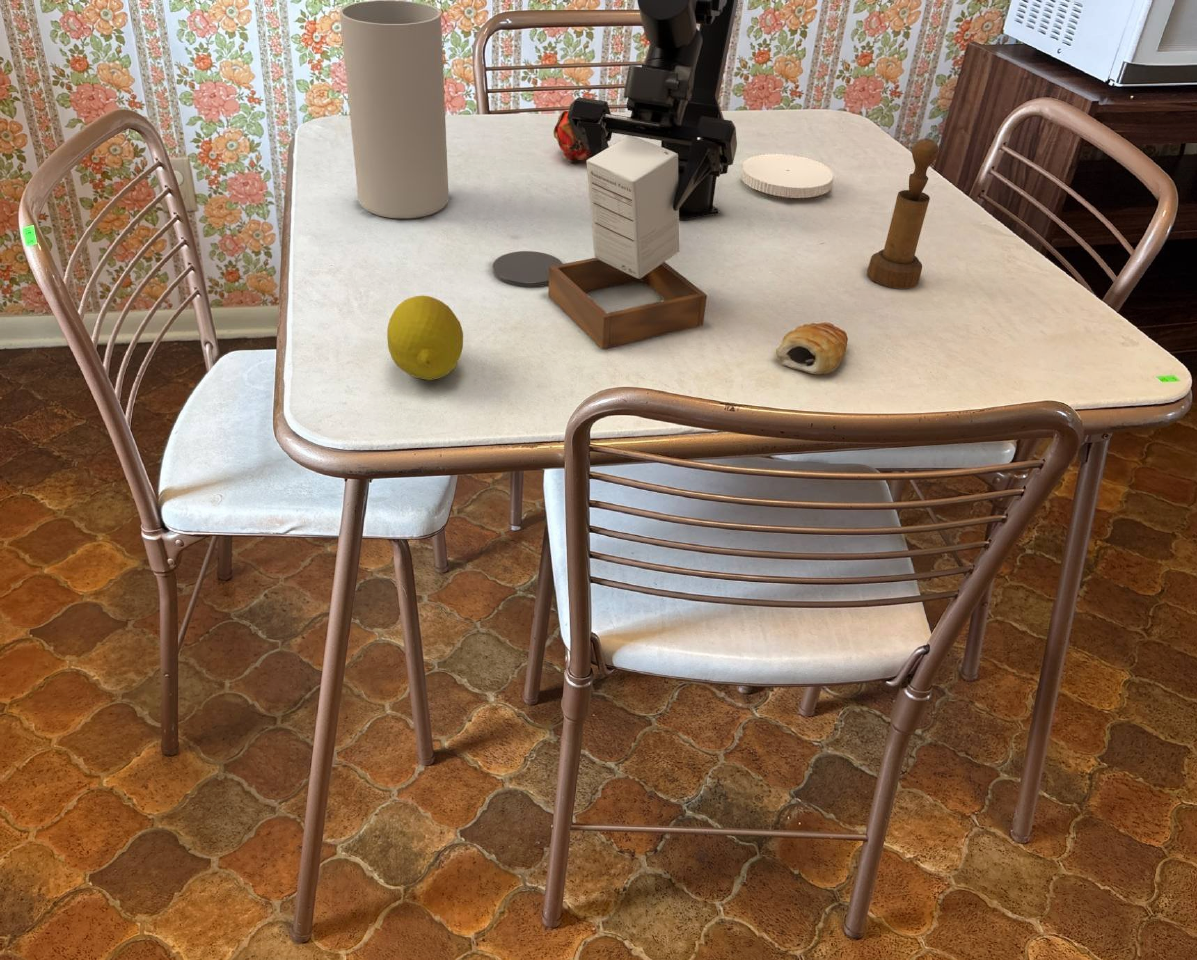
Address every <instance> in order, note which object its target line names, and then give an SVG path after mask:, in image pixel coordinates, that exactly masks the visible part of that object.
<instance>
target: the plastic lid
mask: <svg viewBox="0 0 1197 960" xmlns="http://www.w3.org/2000/svg"><path fill="white" fill-rule="evenodd" d="M740 179H741V180H742V182H743V183H744V184H745V185H747V186H748V187H750V188H752V189H753V190H755V191H758V192H762V193H765V194H768V195H770V196H777V197H782V198H790V199H792V198H794V199H797V198H798V199H801V198H802V199H804V198H813V197H819V196H822V195H824V194H827V193H829V192H830V191H831V190H832V188H833V183H834V179H835V174H834V172H833V170H832V169H831V168H830V167H828V166H827V165H826V164H823V163H821V162H819V161H817V160H815V159H811V158H807V157H804V156H799V155H795V154H794V155H793V154H787V153H786V154H784V153H766V154H765V153H763V154H760V155H758V154H757V155H753V156H751V157H749V158H747V159H745V160H743V162H742V164H741V169H740Z"/></svg>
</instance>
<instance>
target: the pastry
mask: <svg viewBox="0 0 1197 960" xmlns="http://www.w3.org/2000/svg"><path fill="white" fill-rule="evenodd" d="M848 341H849V338H848V334H847V332H846V331H845V330H843V329H841V328H840V327H838V326H835V325H834V324H833V323H830V322H819V323H815V322H812V323H810V324H807V323H804V324H802V325H798V326H797V327H795V329H794V330H791V331H789V332H788V333H786V334H785V335H784V337H783V338H782V341H781V344H780V345H779V347H778V348H776V349H775V356H776V358H777V359H778V363H779V364H780V365H782V366H784V367H788V368H790V369H793V370H798V371H804V372H806V373H808V374H812V375H827V374H830V373H833V372H834V371H835V370H836V369H837V368H838V367H839V365H840V363H841V362H842V360H843V359H844V358H845V355H846V352H847V348H848Z"/></svg>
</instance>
